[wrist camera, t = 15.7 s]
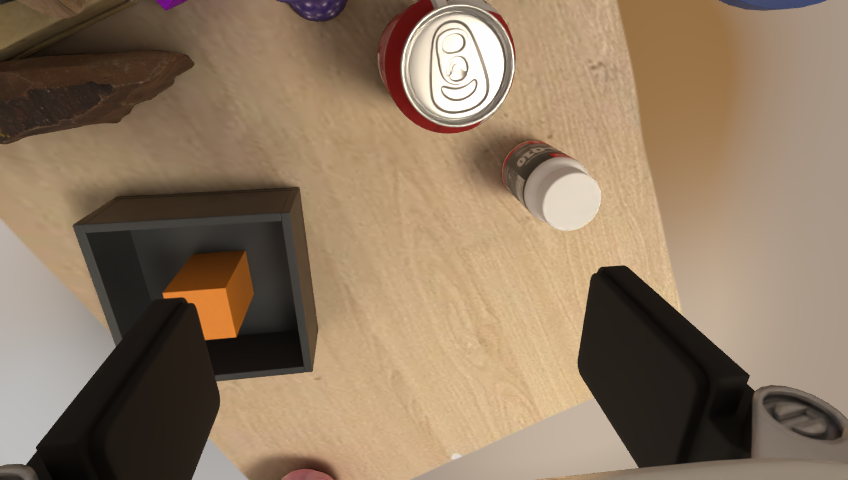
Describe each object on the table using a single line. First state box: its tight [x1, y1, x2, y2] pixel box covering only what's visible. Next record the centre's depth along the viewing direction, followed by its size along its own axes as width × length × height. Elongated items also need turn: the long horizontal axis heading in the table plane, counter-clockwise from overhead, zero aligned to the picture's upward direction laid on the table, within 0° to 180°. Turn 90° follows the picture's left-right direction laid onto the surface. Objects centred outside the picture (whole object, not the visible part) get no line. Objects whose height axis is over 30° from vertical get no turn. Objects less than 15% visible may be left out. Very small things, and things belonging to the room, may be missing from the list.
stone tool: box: [0, 51, 194, 144], centre depth 28 cm, size 6×5×15 cm
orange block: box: [163, 250, 254, 340], centre depth 33 cm, size 4×4×6 cm
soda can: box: [377, 0, 516, 133], centre depth 27 cm, size 7×7×12 cm
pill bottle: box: [502, 140, 601, 231], centre depth 33 cm, size 5×5×8 cm
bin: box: [73, 188, 318, 381], centre depth 34 cm, size 13×13×6 cm
